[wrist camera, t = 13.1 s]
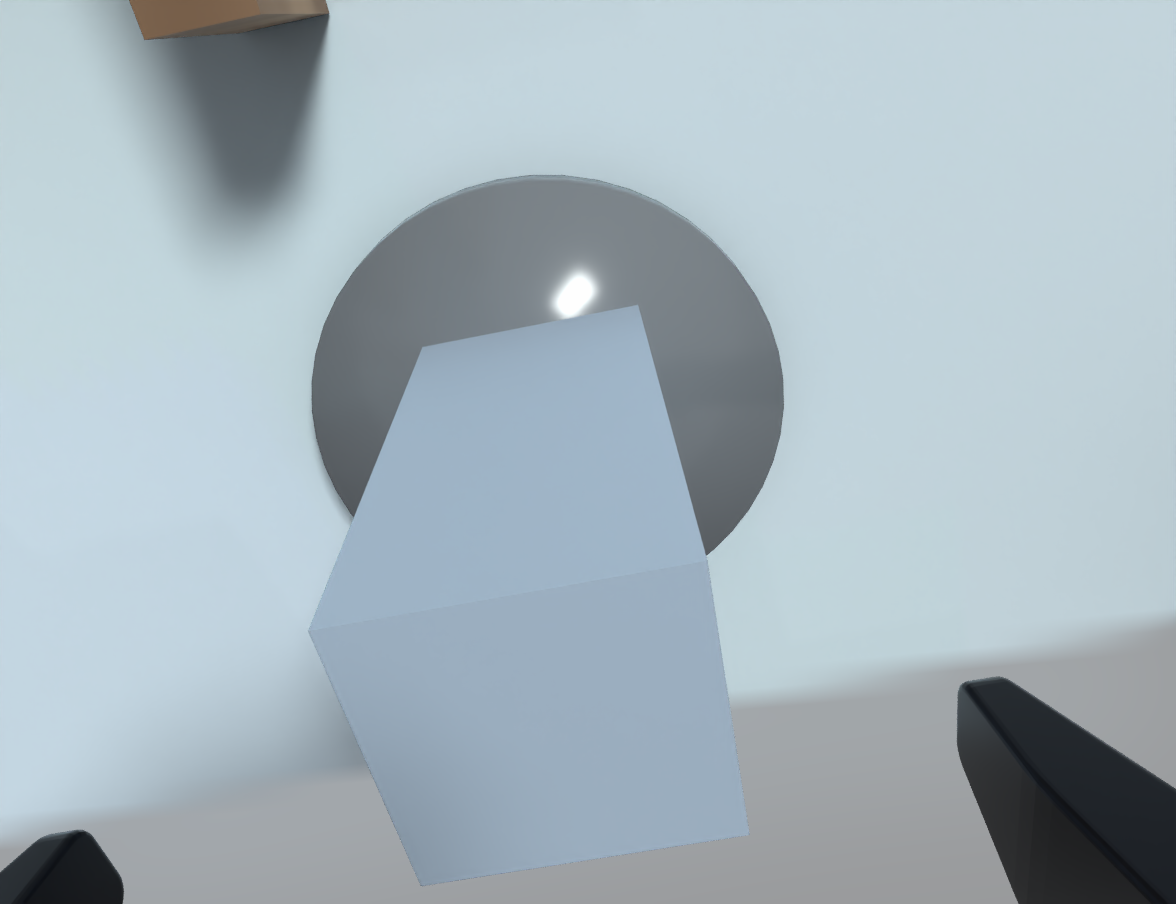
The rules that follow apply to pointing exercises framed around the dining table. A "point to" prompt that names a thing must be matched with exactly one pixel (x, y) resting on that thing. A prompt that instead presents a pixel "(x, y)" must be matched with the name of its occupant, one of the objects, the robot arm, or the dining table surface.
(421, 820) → the block
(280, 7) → the frame
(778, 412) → the coaster
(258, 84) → the dining table surface
